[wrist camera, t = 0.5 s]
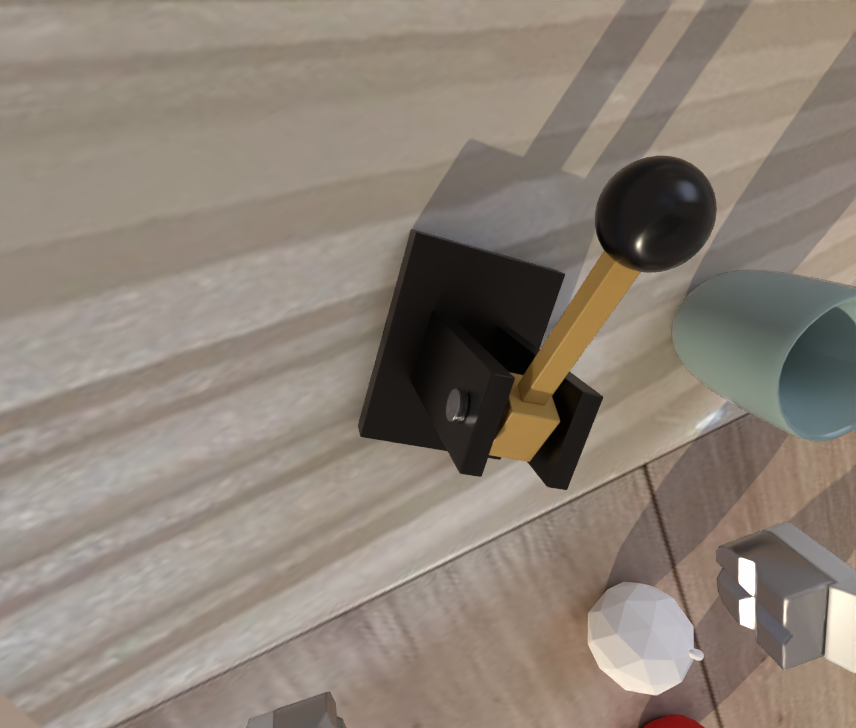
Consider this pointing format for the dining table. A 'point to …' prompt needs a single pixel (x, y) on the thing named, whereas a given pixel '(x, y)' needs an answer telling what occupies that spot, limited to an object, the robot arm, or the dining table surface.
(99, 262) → the dining table surface
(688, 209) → the lever with ball knob
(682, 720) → the tomato
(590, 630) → the ornament
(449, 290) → the lever base
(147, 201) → the dining table surface
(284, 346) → the dining table surface
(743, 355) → the cup
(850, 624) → the robot arm
